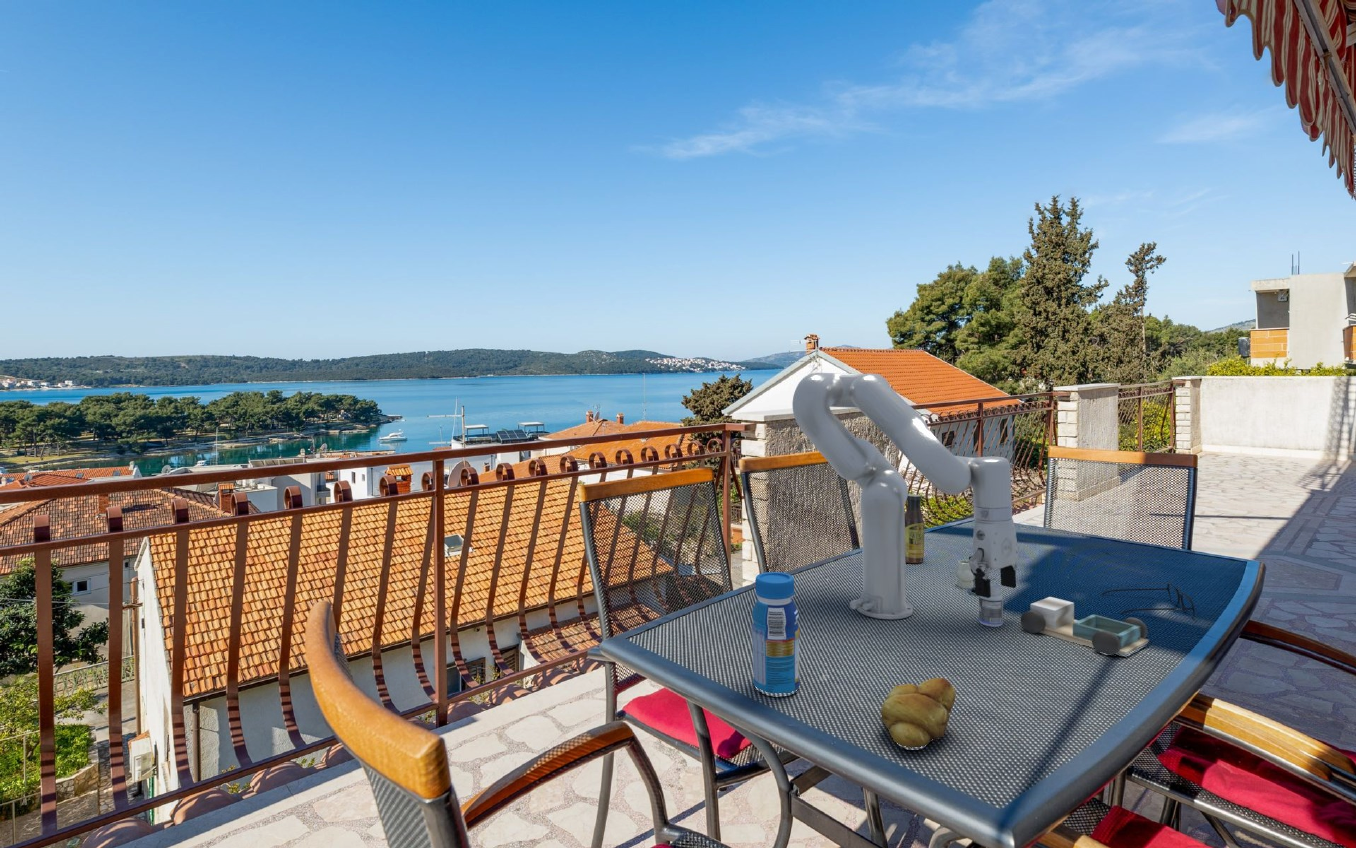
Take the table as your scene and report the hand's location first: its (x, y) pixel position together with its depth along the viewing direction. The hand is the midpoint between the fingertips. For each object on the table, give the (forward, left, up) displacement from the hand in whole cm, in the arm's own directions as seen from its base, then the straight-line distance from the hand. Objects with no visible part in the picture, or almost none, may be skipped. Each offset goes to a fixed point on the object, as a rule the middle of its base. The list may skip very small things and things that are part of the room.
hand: (996, 591), depth 140 cm
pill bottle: (-1, +1, -8) cm, 8 cm away
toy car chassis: (+7, -14, -7) cm, 18 cm away
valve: (+22, +20, -8) cm, 31 cm away
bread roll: (-52, -17, -8) cm, 55 cm away
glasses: (+36, -14, -8) cm, 40 cm away
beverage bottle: (-59, +6, -7) cm, 59 cm away
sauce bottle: (+27, +42, -7) cm, 51 cm away
